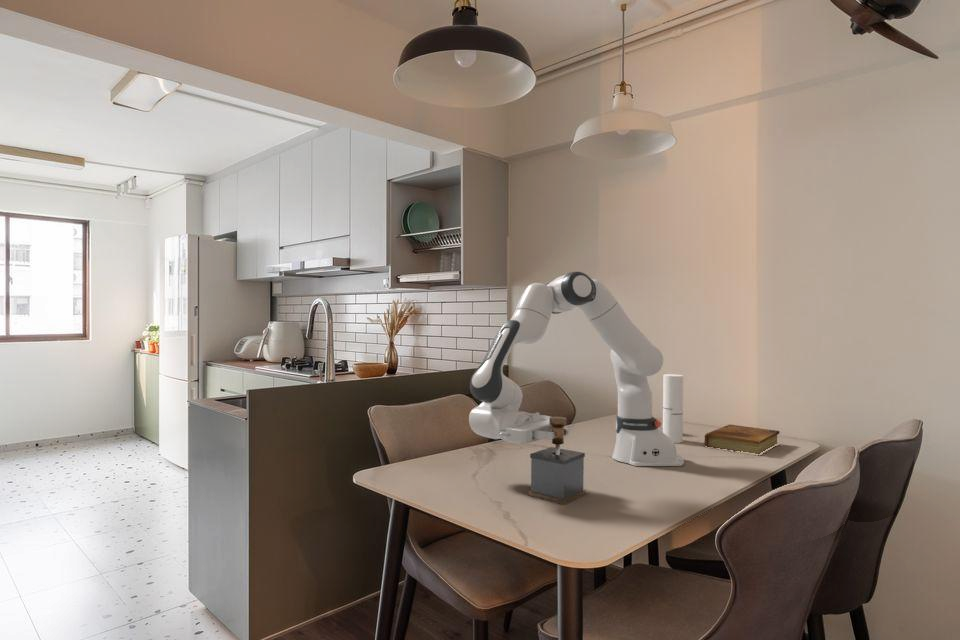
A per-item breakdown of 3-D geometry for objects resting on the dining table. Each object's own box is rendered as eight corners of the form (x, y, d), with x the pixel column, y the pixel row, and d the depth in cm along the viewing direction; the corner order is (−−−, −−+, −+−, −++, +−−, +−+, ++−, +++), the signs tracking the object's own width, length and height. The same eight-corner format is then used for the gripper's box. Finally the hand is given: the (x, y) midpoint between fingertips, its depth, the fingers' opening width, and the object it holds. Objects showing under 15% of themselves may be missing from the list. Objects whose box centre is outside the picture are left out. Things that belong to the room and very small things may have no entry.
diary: (727, 438, 223) (727, 424, 223) (779, 446, 210) (779, 431, 210) (704, 448, 206) (704, 432, 206) (759, 457, 194) (759, 440, 194)
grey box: (550, 485, 159) (551, 446, 159) (585, 494, 152) (586, 453, 152) (528, 495, 150) (528, 454, 150) (564, 504, 143) (564, 461, 143)
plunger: (552, 483, 157) (553, 414, 157) (578, 488, 152) (578, 417, 151) (536, 489, 151) (536, 418, 150) (562, 496, 146) (563, 422, 145)
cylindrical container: (666, 438, 220) (666, 373, 220) (684, 440, 216) (685, 375, 216) (660, 441, 215) (660, 375, 214) (679, 444, 210) (680, 376, 210)
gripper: (495, 421, 151) (538, 428, 142) (538, 411, 167) (579, 416, 158) (495, 444, 151) (538, 453, 142) (538, 432, 167) (579, 439, 158)
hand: (560, 434), depth 150 cm, fingers open, 5 cm apart
